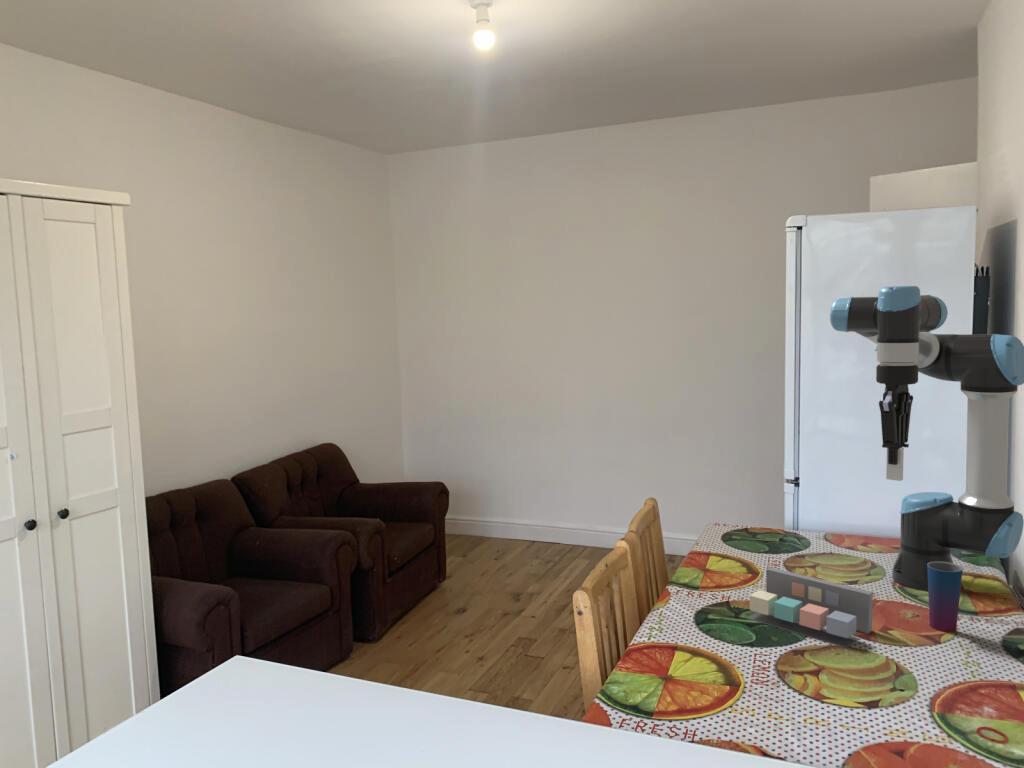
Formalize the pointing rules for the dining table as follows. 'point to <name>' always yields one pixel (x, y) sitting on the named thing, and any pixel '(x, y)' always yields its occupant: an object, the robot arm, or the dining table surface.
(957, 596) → the cup
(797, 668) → the dining table surface
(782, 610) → the teal key
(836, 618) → the slate key
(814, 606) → the coral key
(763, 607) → the sand key
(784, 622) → the keypad
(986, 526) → the robot arm
